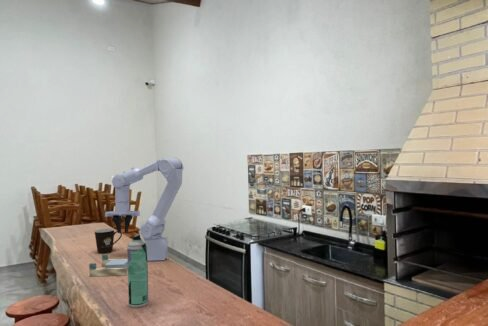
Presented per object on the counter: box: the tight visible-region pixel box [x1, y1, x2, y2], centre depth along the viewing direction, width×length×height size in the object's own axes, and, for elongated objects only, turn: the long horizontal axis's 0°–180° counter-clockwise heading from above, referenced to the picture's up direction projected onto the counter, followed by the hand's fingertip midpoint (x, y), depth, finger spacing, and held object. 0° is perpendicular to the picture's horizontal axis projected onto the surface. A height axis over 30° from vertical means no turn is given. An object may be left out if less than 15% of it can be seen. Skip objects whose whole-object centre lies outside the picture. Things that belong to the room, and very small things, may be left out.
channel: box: [88, 253, 128, 278], centre depth 135 cm, size 13×13×4 cm
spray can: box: [126, 234, 149, 309], centre depth 102 cm, size 6×6×20 cm
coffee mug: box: [94, 228, 123, 255], centre depth 164 cm, size 12×9×10 cm
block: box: [104, 258, 128, 271], centre depth 135 cm, size 7×7×4 cm
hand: (122, 232), depth 155 cm, fingers open, 2 cm apart
